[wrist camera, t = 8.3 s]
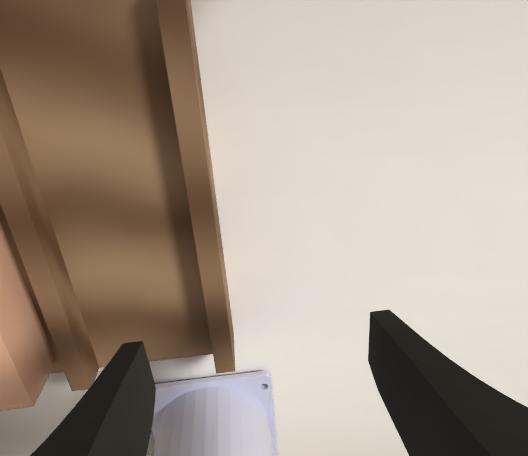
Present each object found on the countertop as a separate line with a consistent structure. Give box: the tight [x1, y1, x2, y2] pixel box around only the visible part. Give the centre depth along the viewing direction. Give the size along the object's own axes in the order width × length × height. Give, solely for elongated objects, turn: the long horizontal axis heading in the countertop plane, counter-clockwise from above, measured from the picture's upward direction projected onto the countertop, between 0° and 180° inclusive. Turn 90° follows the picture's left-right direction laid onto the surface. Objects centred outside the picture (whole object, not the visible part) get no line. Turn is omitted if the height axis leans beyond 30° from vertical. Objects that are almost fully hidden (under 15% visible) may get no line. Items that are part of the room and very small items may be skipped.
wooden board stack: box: [0, 0, 235, 391], centre depth 19 cm, size 18×16×3 cm
